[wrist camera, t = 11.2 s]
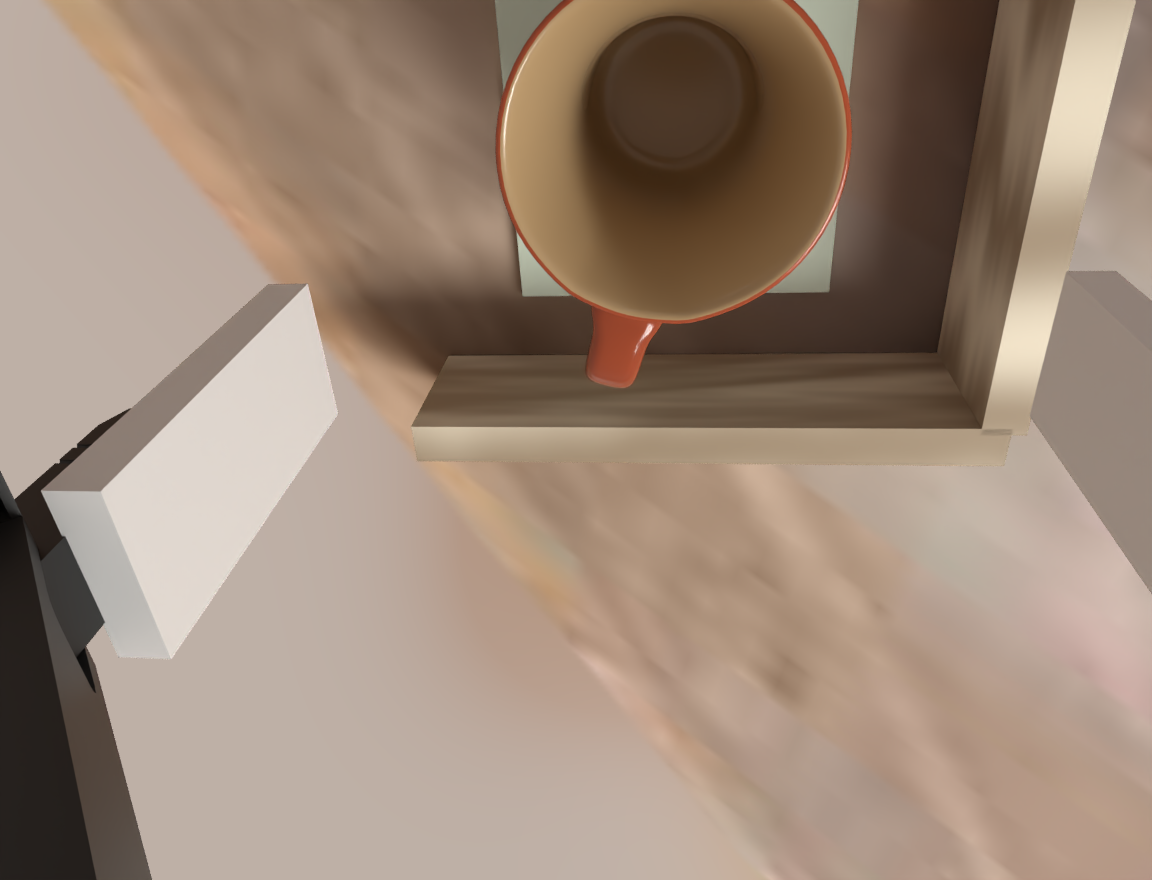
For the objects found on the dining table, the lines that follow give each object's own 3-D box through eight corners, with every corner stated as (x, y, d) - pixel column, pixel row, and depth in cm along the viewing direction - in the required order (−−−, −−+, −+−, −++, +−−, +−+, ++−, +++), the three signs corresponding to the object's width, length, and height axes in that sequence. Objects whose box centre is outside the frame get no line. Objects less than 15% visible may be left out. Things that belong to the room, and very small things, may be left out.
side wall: (1006, -42, 27) (1082, -32, 22) (1057, -45, 27) (1144, -35, 22) (935, 358, 34) (980, 435, 29) (975, 358, 34) (1026, 435, 29)
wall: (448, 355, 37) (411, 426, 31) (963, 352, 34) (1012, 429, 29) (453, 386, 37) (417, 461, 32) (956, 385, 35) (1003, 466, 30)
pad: (492, -46, 29) (490, -46, 28) (864, -70, 27) (865, -69, 27) (523, 293, 35) (522, 296, 34) (827, 289, 33) (829, 292, 33)
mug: (576, -87, 27) (529, -88, 19) (840, -19, 28) (914, 11, 19) (512, 262, 34) (454, 382, 25) (727, 315, 34) (743, 452, 25)
